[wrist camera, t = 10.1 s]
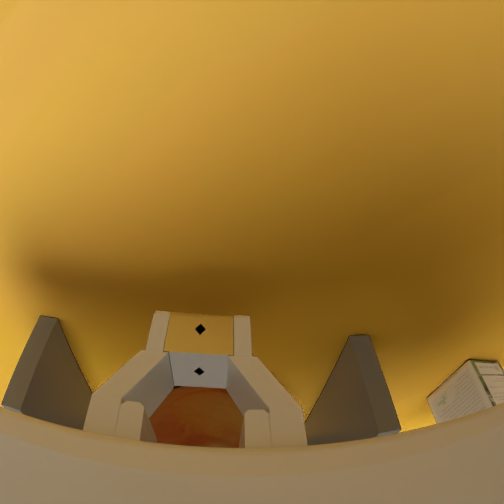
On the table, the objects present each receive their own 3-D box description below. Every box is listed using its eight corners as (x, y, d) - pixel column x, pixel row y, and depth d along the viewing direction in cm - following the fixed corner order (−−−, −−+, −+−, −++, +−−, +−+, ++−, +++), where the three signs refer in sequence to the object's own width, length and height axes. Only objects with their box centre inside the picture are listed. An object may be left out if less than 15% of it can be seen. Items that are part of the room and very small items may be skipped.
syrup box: (423, 398, 23) (467, 543, 11) (469, 355, 20) (533, 513, 8) (459, 397, 24) (502, 520, 12) (501, 358, 21) (557, 489, 9)
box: (368, 335, 17) (401, 429, 12) (306, 441, 25) (314, 500, 21) (40, 315, 15) (1, 404, 10) (102, 430, 24) (92, 488, 19)
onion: (288, 416, 22) (303, 539, 14) (165, 428, 23) (158, 541, 15) (265, 340, 17) (285, 533, 8) (102, 361, 17) (69, 516, 9)
